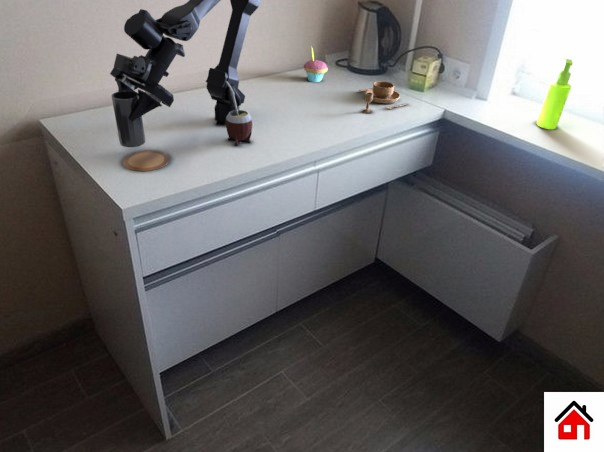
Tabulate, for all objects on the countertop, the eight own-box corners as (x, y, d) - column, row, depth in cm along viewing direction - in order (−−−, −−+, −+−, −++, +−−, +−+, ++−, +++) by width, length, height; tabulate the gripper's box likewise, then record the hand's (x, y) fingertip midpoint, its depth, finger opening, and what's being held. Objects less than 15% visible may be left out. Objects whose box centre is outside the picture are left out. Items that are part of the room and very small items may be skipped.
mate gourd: (248, 148, 131) (247, 93, 123) (219, 144, 132) (217, 89, 124) (255, 137, 137) (255, 83, 129) (228, 133, 138) (226, 80, 130)
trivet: (173, 151, 127) (173, 151, 127) (163, 172, 118) (163, 171, 118) (129, 150, 127) (129, 149, 127) (117, 170, 118) (117, 169, 118)
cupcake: (301, 82, 178) (303, 48, 171) (305, 75, 185) (307, 42, 178) (325, 84, 177) (327, 50, 170) (327, 77, 184) (330, 44, 177)
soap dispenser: (555, 122, 158) (578, 59, 147) (557, 130, 152) (580, 65, 141) (535, 119, 159) (557, 56, 148) (536, 127, 154) (558, 62, 143)
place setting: (413, 104, 165) (416, 87, 162) (367, 114, 155) (369, 96, 152) (378, 88, 177) (380, 71, 174) (333, 97, 167) (335, 79, 164)
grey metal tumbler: (147, 137, 125) (141, 91, 118) (141, 148, 120) (134, 100, 113) (123, 136, 124) (116, 90, 118) (116, 147, 119) (108, 99, 113)
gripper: (110, 31, 116) (75, 87, 115) (156, 48, 106) (118, 110, 105) (144, 59, 125) (112, 111, 125) (189, 77, 115) (154, 134, 115)
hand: (123, 116), depth 117 cm, fingers closed on grey metal tumbler, 6 cm apart
